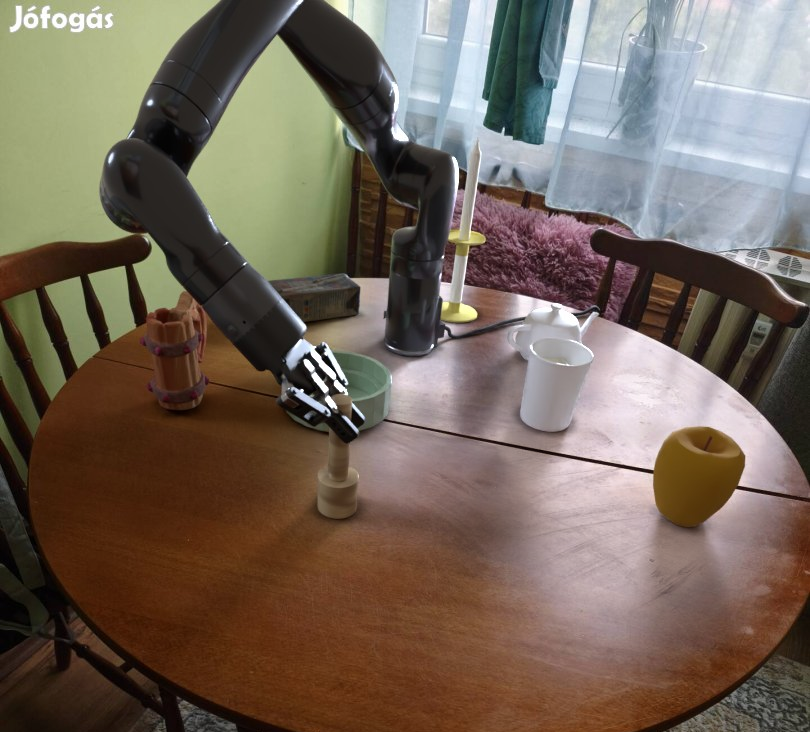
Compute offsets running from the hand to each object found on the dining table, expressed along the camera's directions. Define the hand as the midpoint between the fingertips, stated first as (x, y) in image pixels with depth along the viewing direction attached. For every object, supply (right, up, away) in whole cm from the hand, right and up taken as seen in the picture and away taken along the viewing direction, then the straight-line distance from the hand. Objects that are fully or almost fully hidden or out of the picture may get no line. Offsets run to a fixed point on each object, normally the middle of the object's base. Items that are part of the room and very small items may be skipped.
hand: (356, 431), depth 83 cm
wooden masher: (-3, -9, +8) cm, 12 cm away
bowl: (-5, +8, +27) cm, 29 cm away
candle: (+16, +34, +61) cm, 72 cm away
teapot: (+33, +22, +49) cm, 63 cm away
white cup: (+29, +7, +31) cm, 43 cm away
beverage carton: (-13, +32, +54) cm, 64 cm away
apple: (+44, -10, +14) cm, 47 cm away
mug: (-29, +10, +26) cm, 40 cm away
